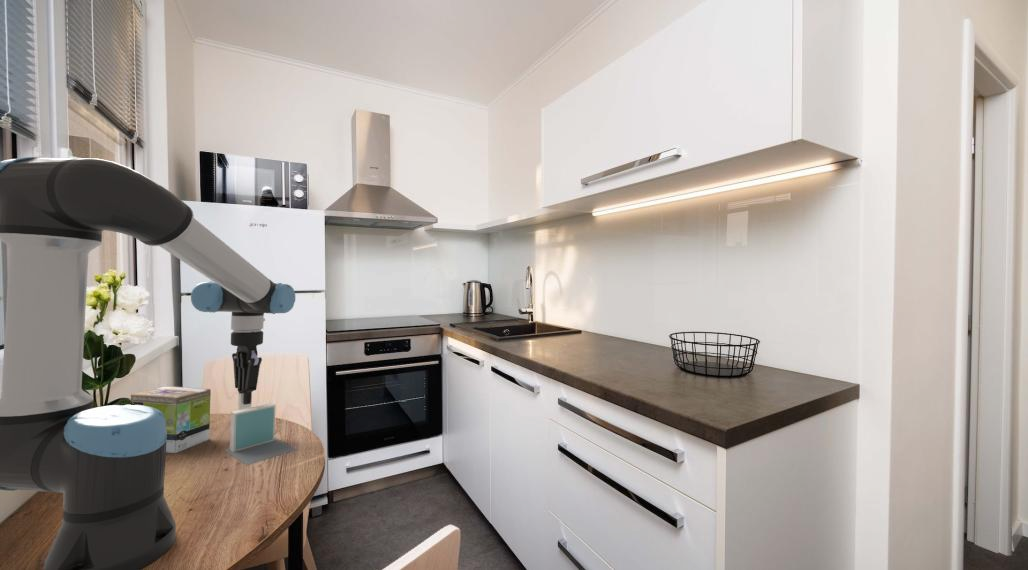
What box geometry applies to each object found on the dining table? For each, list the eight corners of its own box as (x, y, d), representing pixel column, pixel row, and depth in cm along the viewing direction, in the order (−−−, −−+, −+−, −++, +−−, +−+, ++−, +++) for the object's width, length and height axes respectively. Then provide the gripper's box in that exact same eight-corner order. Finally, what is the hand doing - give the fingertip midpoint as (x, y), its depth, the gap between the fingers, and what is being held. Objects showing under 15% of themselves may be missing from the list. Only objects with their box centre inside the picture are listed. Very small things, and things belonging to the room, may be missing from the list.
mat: (246, 467, 96) (246, 465, 96) (223, 451, 104) (223, 450, 104) (297, 451, 106) (297, 449, 106) (272, 438, 114) (272, 436, 114)
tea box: (210, 440, 112) (212, 388, 112) (174, 455, 102) (176, 397, 102) (166, 435, 114) (168, 384, 114) (126, 449, 104) (128, 393, 104)
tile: (233, 452, 103) (234, 413, 103) (229, 449, 105) (230, 411, 105) (274, 440, 111) (275, 405, 111) (270, 438, 113) (271, 403, 113)
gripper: (273, 331, 110) (270, 416, 110) (252, 327, 118) (249, 407, 118) (242, 333, 104) (239, 423, 104) (222, 329, 112) (219, 413, 111)
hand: (244, 415), depth 111 cm, fingers closed
